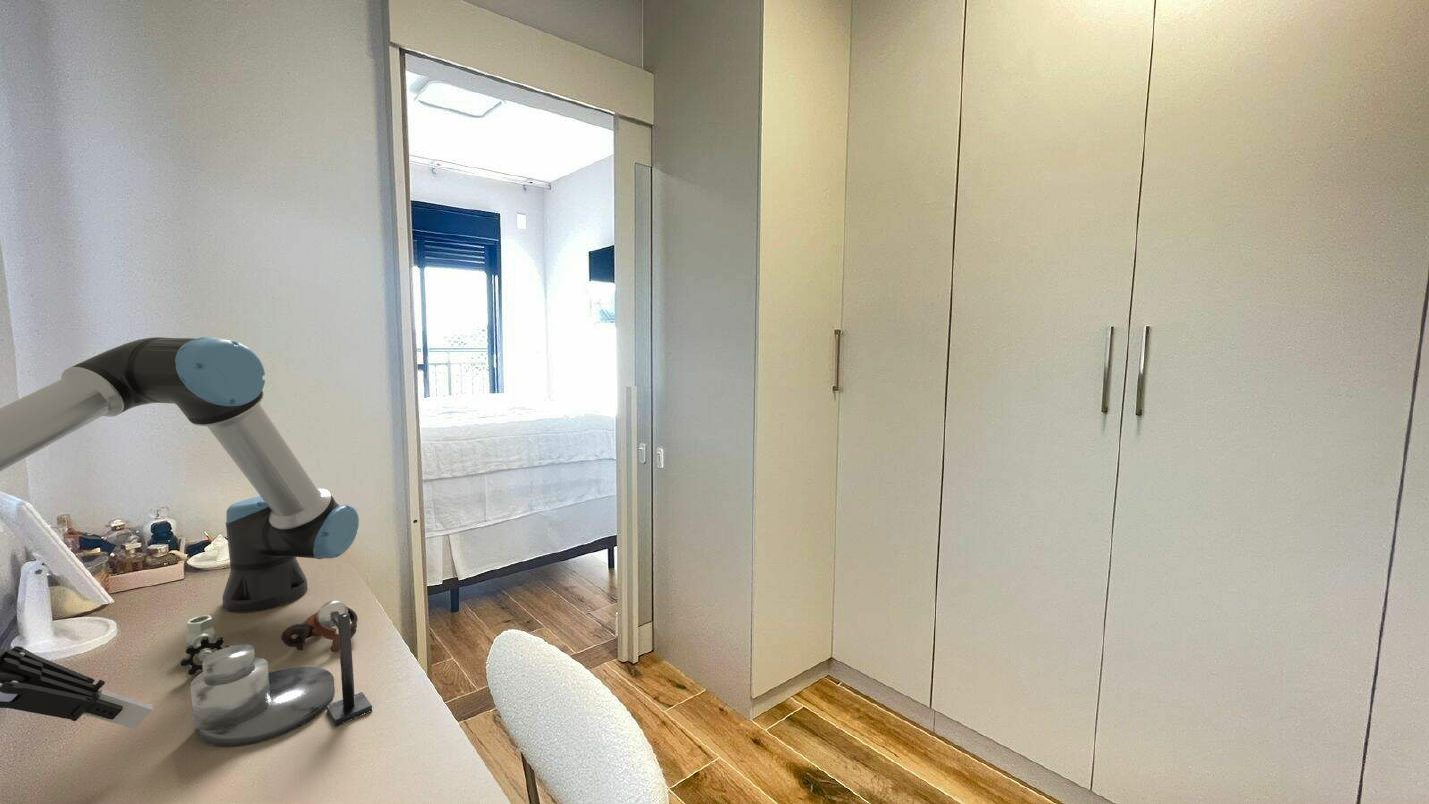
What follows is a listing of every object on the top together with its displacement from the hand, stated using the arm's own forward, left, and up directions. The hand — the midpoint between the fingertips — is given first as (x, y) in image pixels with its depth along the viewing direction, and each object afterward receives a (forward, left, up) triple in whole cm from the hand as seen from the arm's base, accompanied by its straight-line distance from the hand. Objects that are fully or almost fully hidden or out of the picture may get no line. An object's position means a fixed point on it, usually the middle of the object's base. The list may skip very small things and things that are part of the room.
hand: (143, 716), depth 80 cm
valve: (-26, +8, -6) cm, 28 cm away
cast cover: (0, +10, -4) cm, 10 cm away
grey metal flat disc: (0, +14, -6) cm, 15 cm away
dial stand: (+7, +23, -6) cm, 24 cm away
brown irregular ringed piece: (-16, +24, -6) cm, 30 cm away
